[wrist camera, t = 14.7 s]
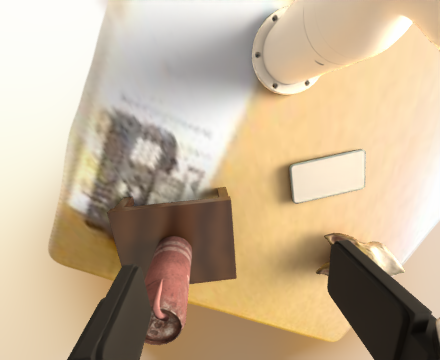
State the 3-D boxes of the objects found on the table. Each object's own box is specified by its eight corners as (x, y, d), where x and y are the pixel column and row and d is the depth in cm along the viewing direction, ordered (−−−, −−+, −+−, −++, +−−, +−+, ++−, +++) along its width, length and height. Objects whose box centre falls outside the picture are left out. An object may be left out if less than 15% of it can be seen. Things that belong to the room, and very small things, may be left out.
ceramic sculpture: (403, 300, 41) (328, 297, 41) (372, 269, 49) (309, 266, 49) (421, 253, 38) (340, 250, 38) (385, 229, 46) (318, 226, 46)
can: (188, 230, 35) (178, 300, 22) (194, 261, 37) (189, 343, 24) (152, 236, 35) (121, 310, 22) (160, 266, 37) (136, 352, 24)
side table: (226, 186, 41) (230, 199, 34) (231, 254, 46) (236, 278, 39) (123, 196, 40) (106, 212, 33) (139, 265, 45) (128, 291, 38)
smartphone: (365, 188, 42) (293, 204, 42) (362, 187, 43) (291, 203, 43) (366, 148, 40) (289, 165, 39) (362, 147, 41) (287, 164, 40)
